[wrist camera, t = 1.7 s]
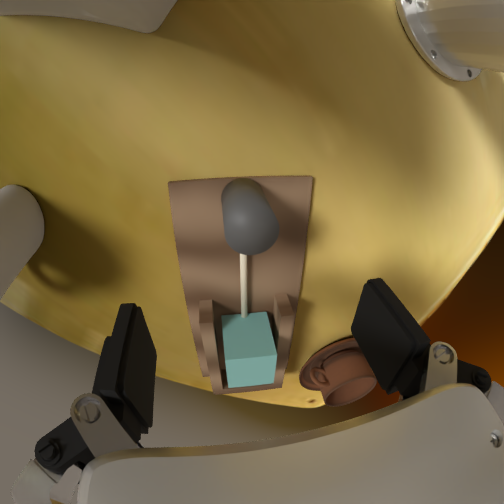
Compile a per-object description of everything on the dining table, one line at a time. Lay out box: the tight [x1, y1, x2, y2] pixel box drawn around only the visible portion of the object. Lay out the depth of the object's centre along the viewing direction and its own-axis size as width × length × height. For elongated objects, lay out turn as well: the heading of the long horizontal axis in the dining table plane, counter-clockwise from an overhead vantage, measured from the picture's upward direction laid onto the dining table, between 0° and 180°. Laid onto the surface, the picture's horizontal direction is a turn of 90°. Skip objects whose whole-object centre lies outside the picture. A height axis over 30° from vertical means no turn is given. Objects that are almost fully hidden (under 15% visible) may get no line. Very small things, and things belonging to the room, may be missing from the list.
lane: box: [168, 176, 313, 394], centre depth 25 cm, size 25×11×3 cm, turn 0°
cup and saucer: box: [299, 338, 377, 406], centre depth 33 cm, size 12×12×6 cm
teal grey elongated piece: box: [221, 178, 279, 388], centre depth 22 cm, size 19×4×6 cm, turn 0°
